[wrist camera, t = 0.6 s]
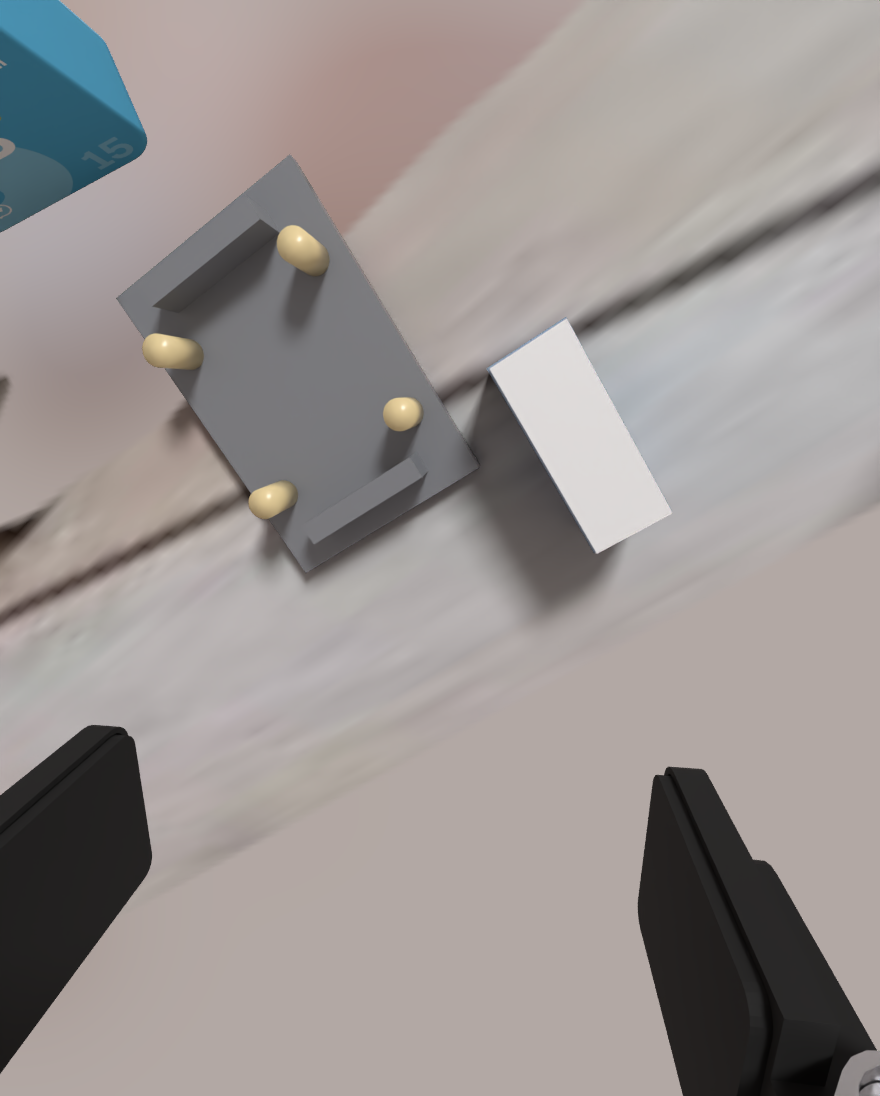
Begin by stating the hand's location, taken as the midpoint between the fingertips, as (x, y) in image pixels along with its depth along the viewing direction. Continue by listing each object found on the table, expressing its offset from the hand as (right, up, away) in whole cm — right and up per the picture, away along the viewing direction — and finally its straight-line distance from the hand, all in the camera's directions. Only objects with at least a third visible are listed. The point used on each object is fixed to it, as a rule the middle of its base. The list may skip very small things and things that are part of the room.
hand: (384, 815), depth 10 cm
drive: (+8, +11, +21) cm, 25 cm away
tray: (-7, +14, +22) cm, 27 cm away
